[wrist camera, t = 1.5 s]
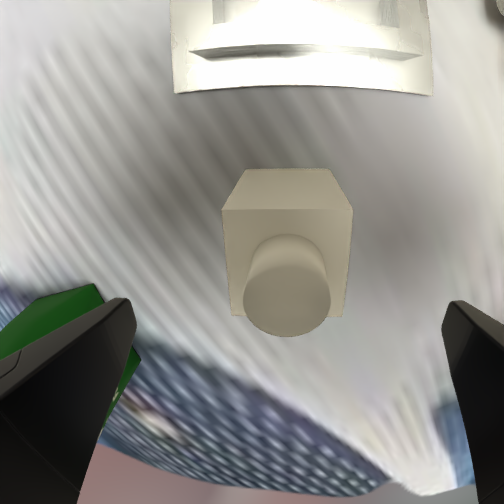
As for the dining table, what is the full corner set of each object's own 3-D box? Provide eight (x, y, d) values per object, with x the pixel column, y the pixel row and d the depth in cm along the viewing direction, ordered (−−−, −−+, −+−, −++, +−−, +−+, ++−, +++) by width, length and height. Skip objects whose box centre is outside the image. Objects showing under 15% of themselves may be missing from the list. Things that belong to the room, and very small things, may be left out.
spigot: (326, 244, 16) (349, 355, 9) (249, 244, 17) (221, 353, 10) (329, 168, 15) (367, 236, 8) (245, 169, 15) (206, 236, 8)
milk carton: (157, 366, 22) (64, 611, 4) (78, 371, 24) (-16, 549, 6) (96, 267, 19) (-90, 536, 1) (23, 291, 21) (-117, 470, 3)
